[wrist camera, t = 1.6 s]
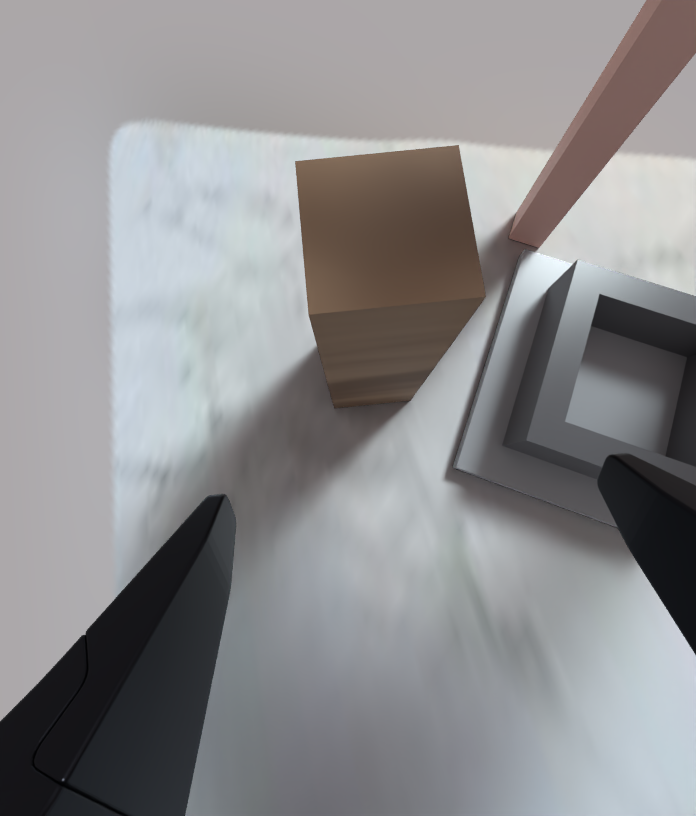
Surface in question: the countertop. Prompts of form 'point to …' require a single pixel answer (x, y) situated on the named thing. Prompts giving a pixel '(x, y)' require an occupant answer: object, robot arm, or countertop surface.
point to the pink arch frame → (610, 113)
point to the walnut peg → (386, 267)
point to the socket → (583, 383)
